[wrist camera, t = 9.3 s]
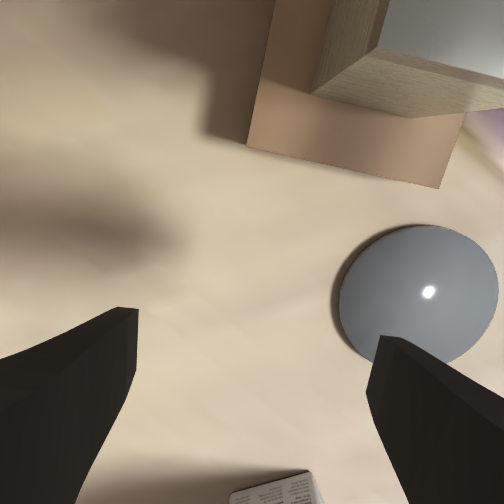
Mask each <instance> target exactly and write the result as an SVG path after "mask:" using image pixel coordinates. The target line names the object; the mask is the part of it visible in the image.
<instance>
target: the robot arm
mask: <svg viewBox="0 0 504 504" xmlns="http://www.w3.org/2000/svg"><path fill="white" fill-rule="evenodd" d="M138 313H139V309H133V308H124V307H116V308H113V309H111V310H109V311H107V312H105V313H103V314H101V315H99V316H97V317H95V318H93V319H91V320H89V321H87V322H85V323H83V324H81V325H79V326H77V327H75V328H73V329H71V330H69V331H67V332H65V333H63V334H60V335H58V336H56V337H54V338H52V339H49V340H47V341H45V342H43V343H40V344H38V345H36V346H34V347H31V348H29V349H26V350H24V351H21V352H19V353H16V354H14V355H11V356H8V357H5V358H2V359H0V504H75V502H76V499H77V497H78V494H79V492H80V489H81V487H82V485H83V483H84V481H85V478H86V476H87V474H88V472H89V470H90V468H91V466H92V464H93V462H94V460H95V458H96V456H97V455H98V453H99V451H100V449H101V447H102V445H103V443H104V441H105V439H106V437H107V435H108V433H109V431H110V429H111V428H112V426H113V424H114V422H115V420H116V418H117V416H118V414H119V412H120V410H121V408H122V406H123V404H124V402H125V400H126V397H127V395H128V392H129V389H130V386H131V384H132V381H133V378H134V375H135V372H136V364H137V338H138ZM366 396H367V399H368V403H369V407H370V411H371V414H372V417H373V421H374V424H375V426H376V429H377V431H378V434H379V436H380V438H381V441H382V443H383V445H384V448H385V450H386V452H387V454H388V457H389V459H390V461H391V463H392V466H393V468H394V470H395V472H396V475H397V477H398V479H399V481H400V484H401V486H402V488H403V491H404V493H405V495H406V497H407V500H408V502H409V504H504V398H503V397H501V396H499V395H497V394H496V393H494V392H492V391H490V390H489V389H487V388H485V387H483V386H482V385H480V384H478V383H476V382H475V381H473V380H471V379H470V378H468V377H466V376H465V375H463V374H461V373H460V372H458V371H457V370H455V369H453V368H452V367H450V366H449V365H447V364H445V363H444V362H442V361H441V360H439V359H437V358H436V357H434V356H433V355H431V354H430V353H428V352H426V351H425V350H423V349H421V348H420V347H418V346H416V345H415V344H413V343H411V342H409V341H407V340H405V339H403V338H401V337H395V336H385V335H380V338H379V342H378V346H377V350H376V354H375V358H374V362H373V366H372V370H371V374H370V378H369V382H368V385H367V389H366Z"/></svg>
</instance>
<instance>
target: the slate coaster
mask: <svg viewBox="0 0 504 504" xmlns="http://www.w3.org/2000/svg"><path fill="white" fill-rule="evenodd" d="M498 292H499V289H498V279H497V274H496V271H495V268H494V266H493V263H492V262H491V260H490V258H489V256H488V255H487V254H486V253H485V251H484V250H483V249H482V248H481V247H480V246H479V245H478V244H477V243H476V242H474V241H473V240H471V239H470V238H468V237H466V236H464V235H462V234H460V233H458V232H455V231H453V230H451V229H447V228H444V227H438V226H430V225H420V226H411V227H407V228H403V229H399V230H396V231H394V232H391V233H389V234H387V235H385V236H383V237H381V238H379V239H378V240H376V241H375V242H373V243H372V244H370V245H369V246H368V247H367V248H366V249H365V250H363V251H362V253H361V254H360V255H359V256H358V257H357V258H356V259H355V261H354V262H353V263H352V265H351V266H350V268H349V270H348V271H347V273H346V275H345V277H344V280H343V283H342V285H341V289H340V294H339V303H338V304H339V316H340V321H341V324H342V326H343V329H344V331H345V333H346V335H347V337H348V339H349V341H350V343H351V344H352V345H353V347H354V348H355V349H356V350H357V351H358V352H359V353H360V354H361V355H362V356H363V357H365V358H366V359H367V360H369V361H370V362H372V363H373V362H374V358H375V354H376V350H377V346H378V342H379V338H380V335H385V336H395V337H401V338H403V339H405V340H407V341H409V342H411V343H413V344H415V345H416V346H418V347H420V348H421V349H423V350H425V351H426V352H428V353H430V354H431V355H433V356H434V357H436V358H437V359H439V360H441V361H442V362H444V363H445V364H446V363H449V362H451V361H453V360H454V359H456V358H458V357H459V356H461V355H462V354H464V353H465V352H466V351H468V350H469V349H470V348H471V347H472V346H473V345H474V344H475V343H476V342H477V341H478V340H479V339H480V338H481V336H482V335H483V334H484V332H485V331H486V329H487V328H488V326H489V324H490V322H491V320H492V318H493V316H494V313H495V310H496V306H497V302H498Z"/></svg>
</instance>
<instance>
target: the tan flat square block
mask: <svg viewBox="0 0 504 504" xmlns="http://www.w3.org/2000/svg"><path fill="white" fill-rule="evenodd" d="M331 4H332V0H276V1H275V6H274V11H273V16H272V21H271V26H270V31H269V36H268V41H267V46H266V51H265V56H264V61H263V65H262V70H261V75H260V80H259V85H258V90H257V95H256V100H255V105H254V110H253V115H252V120H251V125H250V130H249V135H248V140H247V145H246V147H251V148H255V149H260V150H264V151H269V152H273V153H278V154H282V155H287V156H291V157H296V158H300V159H305V160H309V161H314V162H318V163H323V164H327V165H332V166H336V167H341V168H345V169H350V170H354V171H359V172H363V173H368V174H372V175H377V176H381V177H386V178H390V179H395V180H399V181H404V182H408V183H413V184H417V185H422V186H426V187H431V188H435V189H439V187H440V184H441V181H442V178H443V176H444V173H445V170H446V167H447V164H448V162H449V159H450V156H451V153H452V150H453V148H454V145H455V142H456V139H457V136H458V134H459V131H460V128H461V125H462V123H463V120H464V117H465V114H466V112H465V113H456V114H447V115H439V116H430V117H422V118H413V119H412V118H408V117H403V116H399V115H395V114H391V113H386V112H382V111H378V110H374V109H369V108H365V107H361V106H357V105H353V104H348V103H344V102H340V101H336V100H331V99H327V98H323V97H319V96H314V95H310V91H311V87H312V83H313V78H314V74H315V70H316V66H317V62H318V58H319V54H320V49H321V45H322V41H323V37H324V33H325V29H326V24H327V20H328V16H329V12H330V8H331Z"/></svg>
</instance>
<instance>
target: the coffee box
mask: <svg viewBox="0 0 504 504" xmlns="http://www.w3.org/2000/svg"><path fill="white" fill-rule="evenodd" d="M229 504H324V502H323V499H322V497H321V494H320V492H319V490H318V487H317V485H316V482H315V479H314V477H313V475H312V473H311V472H307V473H304V474H300V475H296V476H293V477H289V478H286V479H282V480H278V481H274V482H271V483H267V484H263V485H260V486H256V487H253V488H249V489H245V490H242V491H238V492H234V493H232V494H231V495H230V498H229Z"/></svg>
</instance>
